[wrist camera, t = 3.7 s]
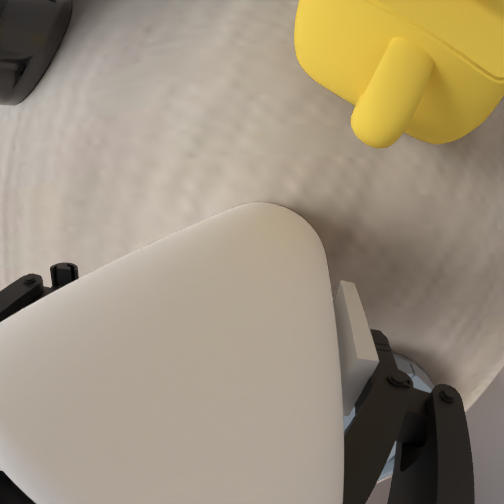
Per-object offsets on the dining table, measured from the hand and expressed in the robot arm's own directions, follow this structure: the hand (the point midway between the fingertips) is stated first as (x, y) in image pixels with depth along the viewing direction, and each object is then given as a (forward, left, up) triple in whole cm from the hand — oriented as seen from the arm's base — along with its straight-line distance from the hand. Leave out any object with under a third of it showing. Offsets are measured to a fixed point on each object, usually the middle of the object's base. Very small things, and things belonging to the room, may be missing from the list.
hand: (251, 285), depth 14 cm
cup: (0, 0, -3) cm, 3 cm away
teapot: (-16, +6, -3) cm, 17 cm away
